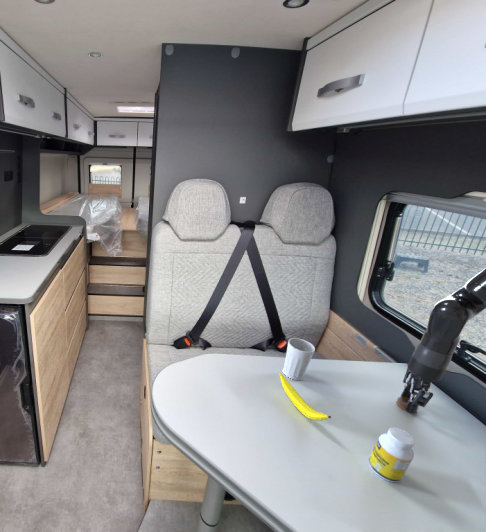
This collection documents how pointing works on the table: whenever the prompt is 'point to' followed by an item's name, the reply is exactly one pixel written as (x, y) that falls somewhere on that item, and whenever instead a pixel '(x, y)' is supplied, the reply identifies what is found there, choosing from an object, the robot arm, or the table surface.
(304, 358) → the cup
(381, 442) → the pill bottle
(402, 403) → the brown bottle cap
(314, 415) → the banana
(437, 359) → the robot arm
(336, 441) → the table surface
